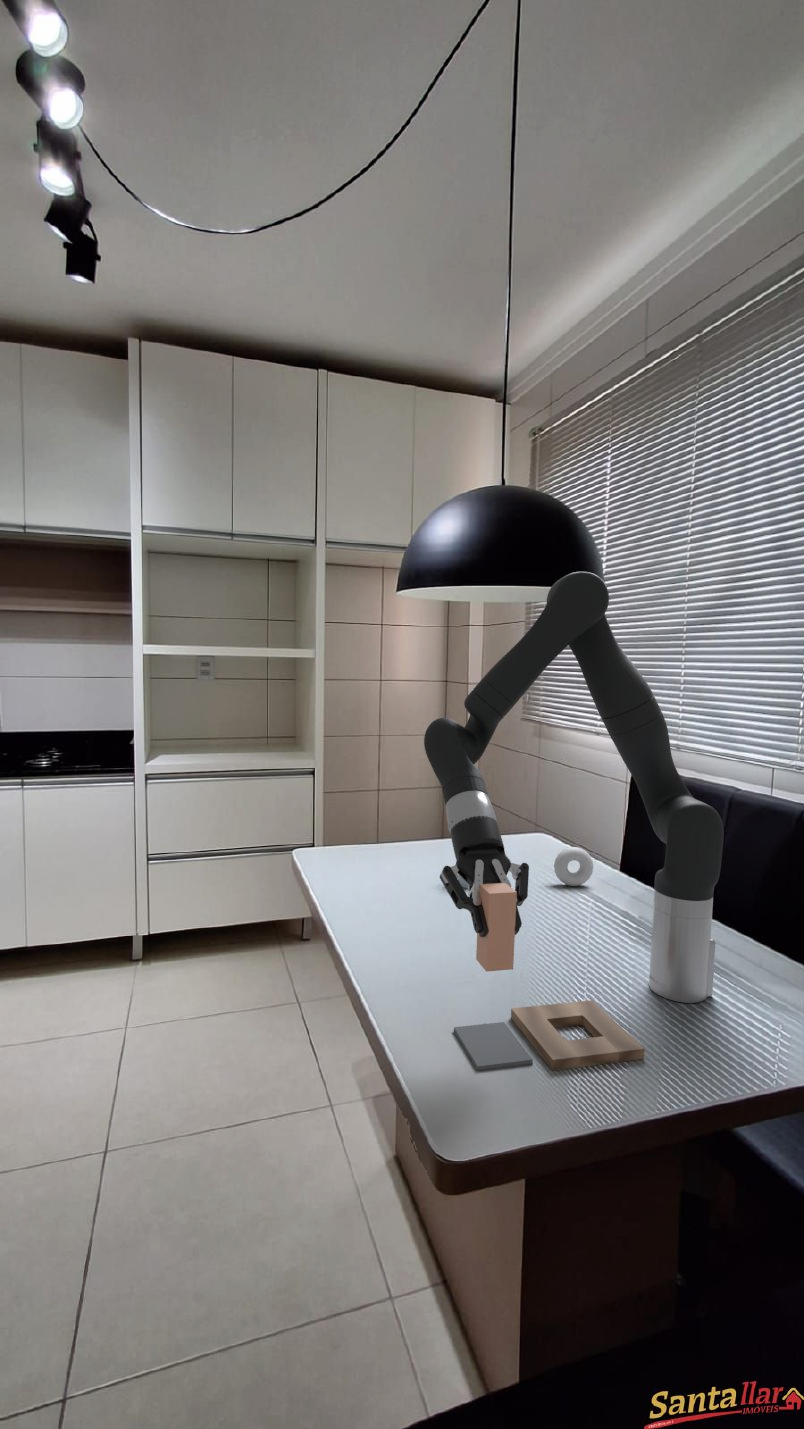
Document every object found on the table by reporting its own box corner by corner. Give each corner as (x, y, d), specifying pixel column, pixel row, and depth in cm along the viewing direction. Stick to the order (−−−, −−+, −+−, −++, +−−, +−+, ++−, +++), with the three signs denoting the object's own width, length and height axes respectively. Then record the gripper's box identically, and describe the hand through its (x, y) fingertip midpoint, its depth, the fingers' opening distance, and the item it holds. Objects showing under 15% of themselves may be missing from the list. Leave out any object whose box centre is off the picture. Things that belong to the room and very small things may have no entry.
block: (502, 957, 97) (505, 882, 96) (513, 969, 93) (516, 892, 92) (476, 959, 96) (479, 884, 95) (486, 971, 92) (489, 893, 91)
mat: (503, 1025, 101) (504, 1021, 101) (532, 1063, 92) (532, 1059, 91) (453, 1031, 99) (453, 1027, 99) (477, 1070, 90) (477, 1066, 90)
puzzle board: (592, 1009, 107) (592, 1000, 107) (643, 1058, 93) (644, 1048, 93) (510, 1017, 104) (511, 1008, 103) (552, 1070, 90) (553, 1059, 90)
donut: (590, 884, 172) (591, 845, 171) (594, 888, 168) (596, 849, 168) (551, 883, 172) (553, 844, 171) (555, 887, 168) (556, 848, 167)
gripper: (435, 815, 99) (458, 925, 88) (523, 813, 103) (556, 919, 92) (424, 841, 105) (444, 948, 94) (508, 838, 108) (537, 941, 97)
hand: (500, 933), depth 93 cm, fingers closed on block, 4 cm apart
